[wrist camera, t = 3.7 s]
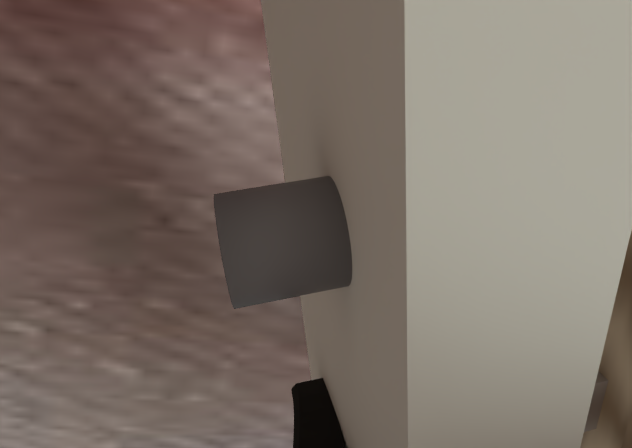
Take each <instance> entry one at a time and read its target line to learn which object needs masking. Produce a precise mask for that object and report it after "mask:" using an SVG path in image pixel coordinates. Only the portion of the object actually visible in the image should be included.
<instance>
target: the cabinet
mask: <svg viewBox="0 0 632 448" xmlns="http://www.w3.org/2000/svg"><path fill="white" fill-rule="evenodd" d="M580 448H632V230H631V234H630V239H629V243H628V247H627V251H626V256H625V260H624V264H623V268H622V273H621V277H620V281H619V285H618V289H617V294H616V298H615V302H614V306H613V311H612V315H611V319H610V323H609V328H608V332H607V336H606V340H605V344H604V349H603V353H602V357H601V361H600V366H599V370H598V374H597V378H596V383H595V387H594V391H593V395H592V400H591V404H590V408H589V412H588V416H587V421H586V425H585V429H584V433H583V438H582V442H581V446H580Z"/></svg>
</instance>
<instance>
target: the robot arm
mask: <svg viewBox="0 0 632 448" xmlns="http://www.w3.org/2000/svg"><path fill="white" fill-rule="evenodd" d="M292 396H293V403H294V441H293V448H345V446H344V441H343V437H342V432H341V427H340V423H339V420H338V418H337V415H336V412H335V409H334V406H333V403H332V401H331V398H330V395H329V392H328V390H327V387H326V385H325V382H324V380H323V378H319V379H315V380H310V381H306V382H302V383H297V384H296V385H295V386H294V387H293V388H292Z"/></svg>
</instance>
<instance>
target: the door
mask: <svg viewBox="0 0 632 448" xmlns="http://www.w3.org/2000/svg"><path fill="white" fill-rule="evenodd" d="M261 5H262V13H263V20H264V28H265V35H266V43H267V50H268V58H269V66H270V73H271V81H272V88H273V96H274V103H275V111H276V118H277V126H278V133H279V141H280V148H281V156H282V164H283V171H284V179H285V183H280V184H274V185H268V186H262V187H256V188H250V189H243V190H237V191H231V192H225V193H219V194H214V208H215V217H216V225H217V231H218V238H219V244H220V250H221V256H222V261H223V267H224V272H225V277H226V281H227V286H228V290H229V294H230V298H231V302H232V305H233V308H234V309H236V308H241V307H246V306H251V305H256V304H261V303H266V302H271V301H276V300H281V299H287V298H292V297H297V296H300V299H301V307H302V314H303V322H304V329H305V337H306V344H307V352H308V359H309V367H310V375H311V380H315V379H319V378H323V380H324V382H325V385H326V387H327V390H328V392H329V395H330V398H331V401H332V403H333V406H334V409H335V412H336V415H337V418H338V420H339V423H340V427H341V432H342V437H343V441H344V446H345V448H580V446H581V442H582V438H583V433H584V429H585V425H586V421H587V416H588V412H589V408H590V404H591V400H592V395H593V391H594V387H595V383H596V378H597V374H598V370H599V366H600V361H601V357H602V353H603V349H604V344H605V340H606V336H607V332H608V328H609V323H610V319H611V315H612V311H613V306H614V302H615V298H616V294H617V289H618V285H619V281H620V277H621V273H622V268H623V264H624V260H625V256H626V251H627V247H628V243H629V239H630V234H631V230H632V0H261Z"/></svg>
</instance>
